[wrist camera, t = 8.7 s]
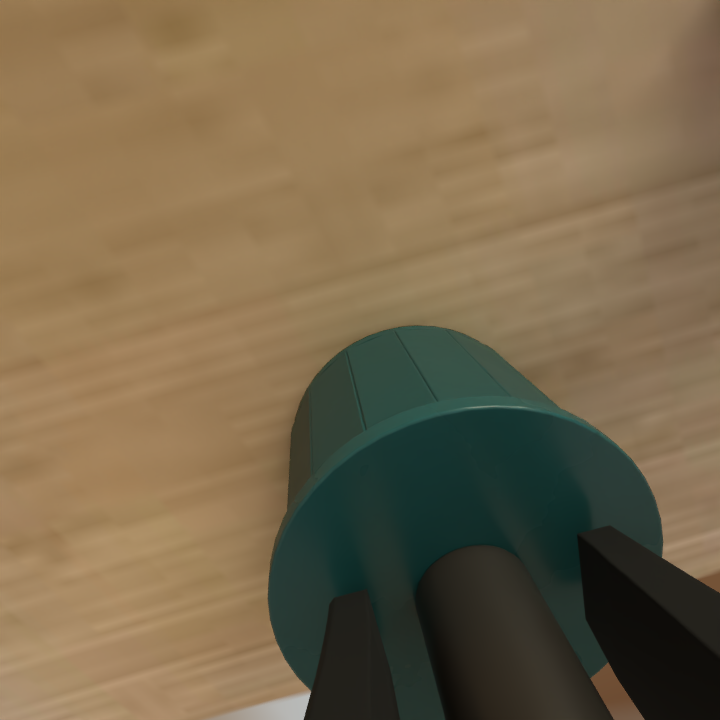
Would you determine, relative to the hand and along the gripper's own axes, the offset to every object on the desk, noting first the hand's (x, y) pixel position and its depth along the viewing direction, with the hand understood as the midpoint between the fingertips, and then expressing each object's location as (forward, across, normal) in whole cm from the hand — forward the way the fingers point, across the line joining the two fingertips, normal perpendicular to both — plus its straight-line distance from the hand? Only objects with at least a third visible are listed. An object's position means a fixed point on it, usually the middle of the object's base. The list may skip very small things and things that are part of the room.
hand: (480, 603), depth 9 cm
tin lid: (+1, 0, 0) cm, 1 cm away
